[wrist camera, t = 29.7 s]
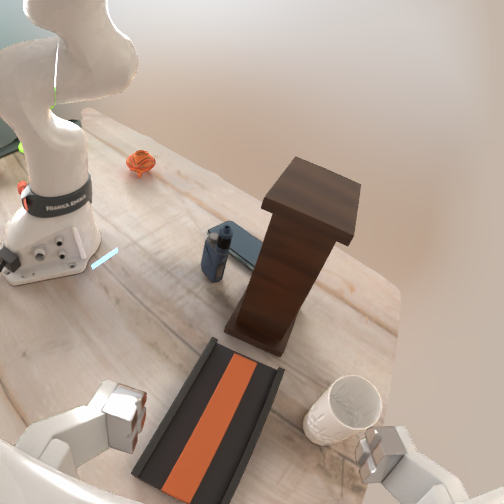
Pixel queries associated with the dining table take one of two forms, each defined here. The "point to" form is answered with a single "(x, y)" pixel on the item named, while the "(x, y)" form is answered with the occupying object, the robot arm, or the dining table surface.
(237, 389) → the orange long block
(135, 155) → the pot
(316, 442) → the white cup
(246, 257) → the smartphone
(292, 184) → the wooden display pedestal
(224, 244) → the vaping device
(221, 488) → the seat base
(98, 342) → the dining table surface
